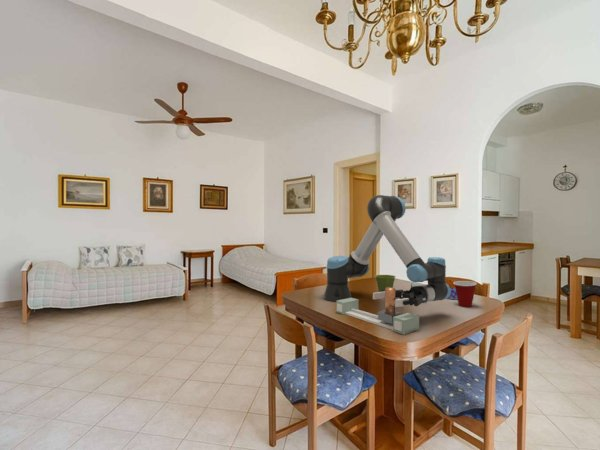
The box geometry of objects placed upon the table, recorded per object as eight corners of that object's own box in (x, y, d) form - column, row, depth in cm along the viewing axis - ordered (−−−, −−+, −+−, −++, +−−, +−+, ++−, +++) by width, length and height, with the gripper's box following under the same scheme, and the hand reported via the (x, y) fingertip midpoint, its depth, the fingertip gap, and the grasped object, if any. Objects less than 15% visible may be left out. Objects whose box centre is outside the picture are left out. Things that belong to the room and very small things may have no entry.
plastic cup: (448, 303, 163) (448, 280, 163) (468, 302, 163) (468, 280, 163) (460, 308, 152) (460, 284, 152) (481, 308, 153) (481, 284, 153)
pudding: (466, 300, 168) (466, 291, 168) (442, 299, 171) (442, 290, 171) (459, 295, 180) (459, 286, 180) (437, 294, 183) (437, 286, 183)
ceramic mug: (426, 298, 173) (426, 284, 173) (411, 297, 175) (411, 283, 176) (424, 294, 184) (424, 281, 184) (409, 293, 186) (409, 280, 186)
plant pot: (391, 292, 187) (391, 274, 187) (398, 297, 175) (398, 277, 175) (372, 293, 186) (372, 274, 186) (378, 297, 174) (378, 278, 174)
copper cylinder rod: (378, 319, 128) (378, 288, 128) (388, 316, 132) (388, 285, 132) (392, 323, 122) (392, 290, 122) (402, 320, 127) (402, 288, 127)
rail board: (335, 312, 146) (335, 300, 146) (351, 308, 152) (351, 297, 152) (403, 335, 116) (403, 320, 116) (419, 329, 122) (419, 315, 122)
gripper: (445, 309, 124) (407, 317, 115) (400, 296, 146) (364, 301, 137) (445, 291, 124) (407, 297, 115) (400, 281, 146) (364, 285, 137)
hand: (384, 299), depth 126 cm, fingers open, 12 cm apart
